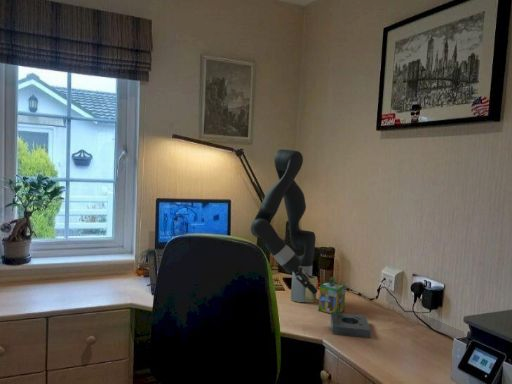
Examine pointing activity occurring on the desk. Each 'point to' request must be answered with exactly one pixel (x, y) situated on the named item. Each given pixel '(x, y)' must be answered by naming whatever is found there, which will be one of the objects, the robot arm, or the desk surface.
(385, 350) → the desk surface
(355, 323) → the jig plate
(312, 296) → the brass sleeve
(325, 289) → the chalk box
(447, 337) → the desk surface
